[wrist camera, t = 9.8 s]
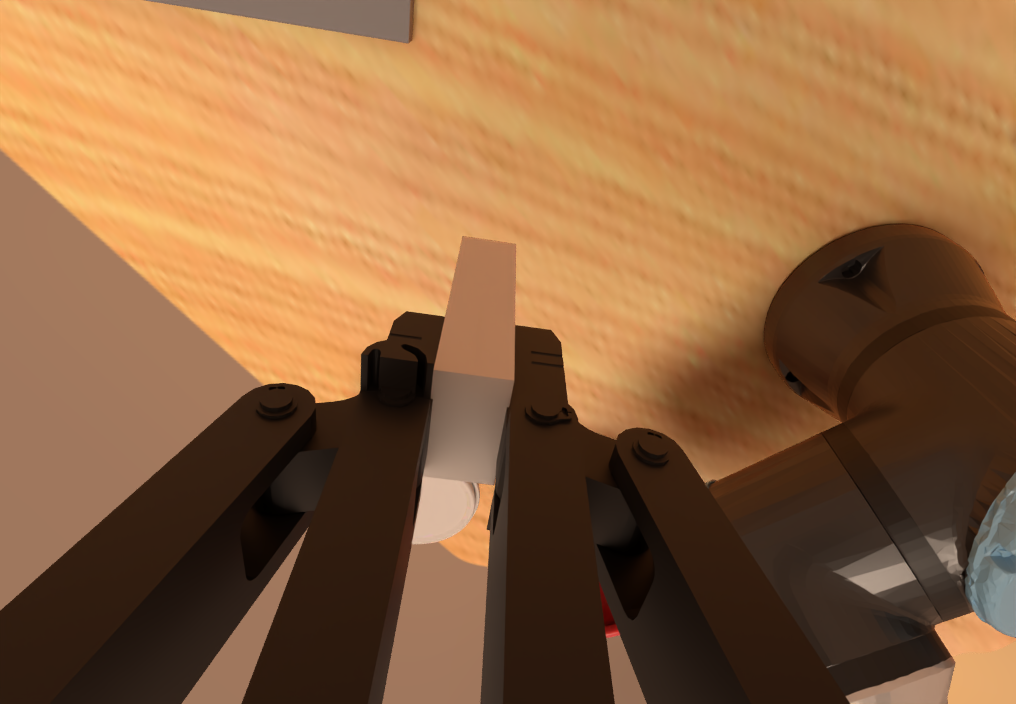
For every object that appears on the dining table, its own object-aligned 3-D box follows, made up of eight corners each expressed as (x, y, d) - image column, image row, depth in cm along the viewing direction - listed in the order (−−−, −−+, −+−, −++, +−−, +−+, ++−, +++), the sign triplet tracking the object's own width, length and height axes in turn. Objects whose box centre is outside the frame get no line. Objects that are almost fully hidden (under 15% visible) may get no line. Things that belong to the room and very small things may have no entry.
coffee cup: (360, 414, 51) (326, 525, 41) (397, 334, 47) (368, 437, 37) (457, 448, 54) (447, 560, 44) (502, 375, 49) (501, 482, 39)
